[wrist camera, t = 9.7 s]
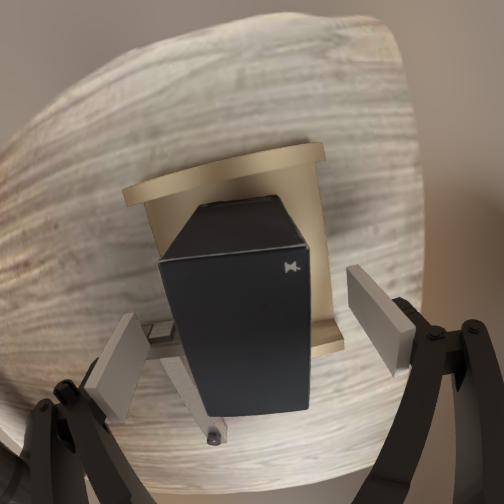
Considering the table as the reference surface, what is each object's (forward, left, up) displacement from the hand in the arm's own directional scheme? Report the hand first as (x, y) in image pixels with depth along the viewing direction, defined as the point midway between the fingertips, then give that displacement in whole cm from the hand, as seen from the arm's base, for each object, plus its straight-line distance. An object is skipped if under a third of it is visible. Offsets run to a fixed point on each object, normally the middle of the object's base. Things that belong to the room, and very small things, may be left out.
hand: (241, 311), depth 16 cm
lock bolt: (-8, -13, -7) cm, 17 cm away
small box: (0, 0, -7) cm, 7 cm away
